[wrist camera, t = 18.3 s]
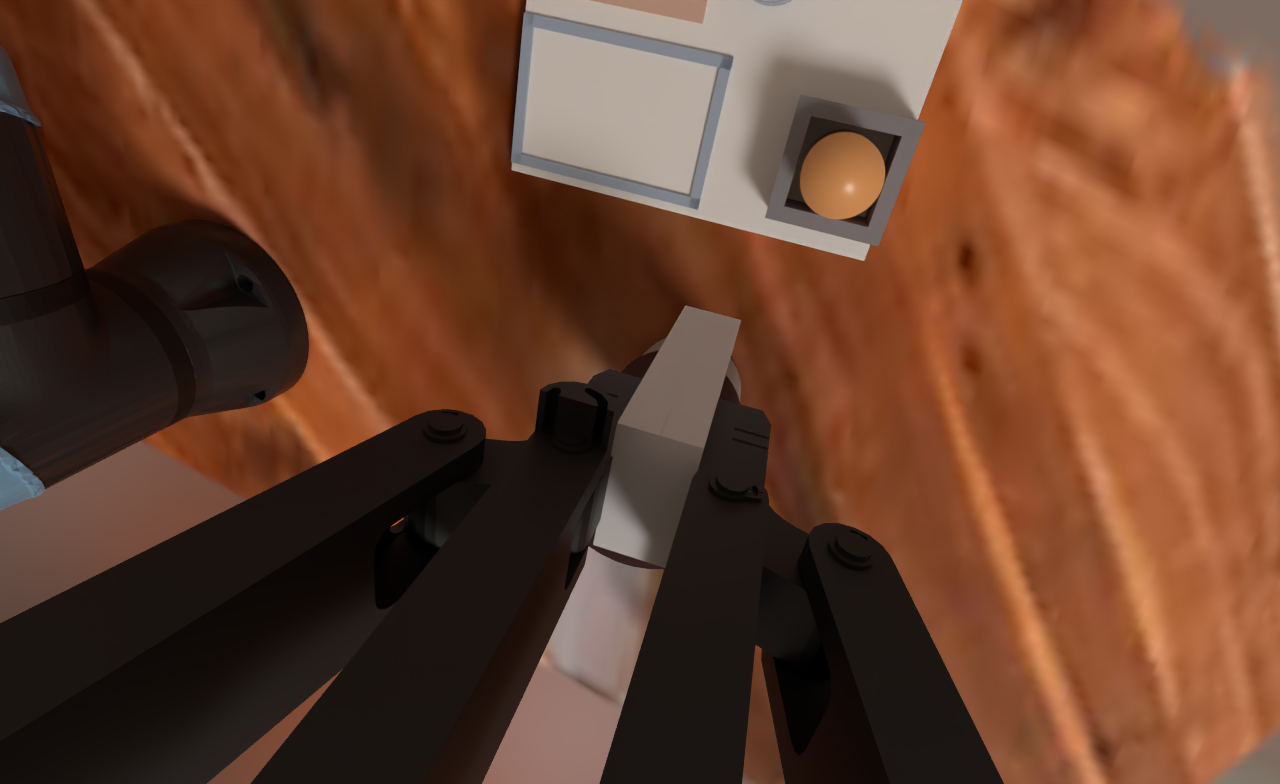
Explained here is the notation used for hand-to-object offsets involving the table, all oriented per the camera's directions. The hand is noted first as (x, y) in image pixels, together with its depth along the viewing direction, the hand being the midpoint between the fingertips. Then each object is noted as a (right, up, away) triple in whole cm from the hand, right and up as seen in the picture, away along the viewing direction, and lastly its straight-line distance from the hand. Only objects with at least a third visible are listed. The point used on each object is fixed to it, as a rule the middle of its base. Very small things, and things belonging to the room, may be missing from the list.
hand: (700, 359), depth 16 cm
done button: (+9, +11, +17) cm, 22 cm away
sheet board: (+2, +17, +17) cm, 24 cm away
